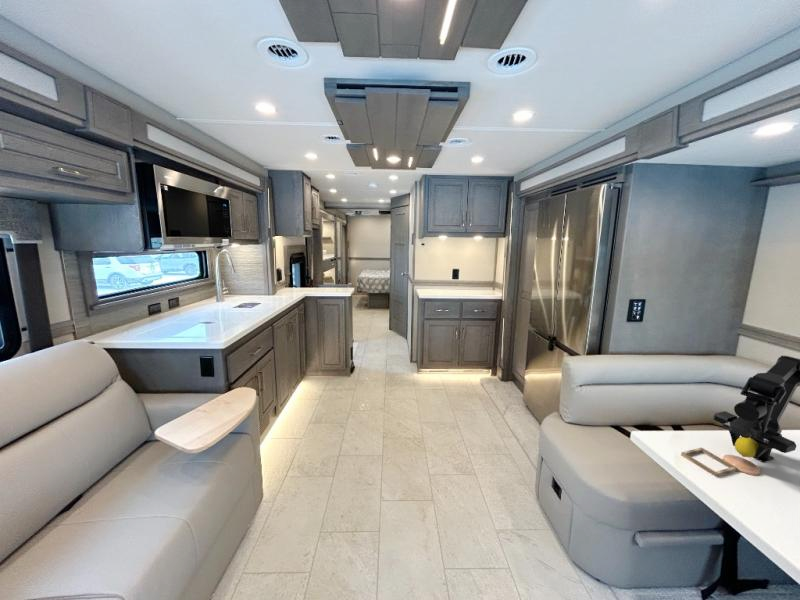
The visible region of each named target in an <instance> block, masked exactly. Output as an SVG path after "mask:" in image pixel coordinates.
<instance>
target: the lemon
mask: <svg viewBox="0 0 800 600" xmlns="http://www.w3.org/2000/svg"><path fill="white" fill-rule="evenodd" d="M734 448H735V451H736V452H737V453H738V454H739V455H740V456H741V457H742V458H754V456H755V455H756V452H757V450H758V448H759V446H758V444H757V442H756V441H755V440H753V439H752V438H751V437H749V438H744V437H741V436H740V438H738V439H737V440H736V442H735V446H734Z"/></svg>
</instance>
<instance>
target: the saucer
mask: <svg viewBox="0 0 800 600" xmlns="http://www.w3.org/2000/svg"><path fill="white" fill-rule="evenodd" d="M722 459H723V460H725V461H726V462H728V463H730V464H732V465H733V466H735V467H737V471H736V472H739V473H743V474H745V475H749V476H759V475H761V469H760V468H759V466H758V465H756V464H755V463H754V462H752V461H750V460H748V459H745V457H742V456H738V455H735V454H724V455H723V456H722Z"/></svg>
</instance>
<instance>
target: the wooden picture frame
mask: <svg viewBox="0 0 800 600" xmlns="http://www.w3.org/2000/svg"><path fill="white" fill-rule="evenodd" d="M700 453H703V454H704V455H707V456H709V457H710V458H712V459H713V460H715V461H717V462H718V463H720V464H722V465H724V466H725V467H727V468H724V469H721V470H717V471H716V470H714V469H712V468H711V467H708V466H707V465H705V464H704V463H702V462H700V461H699V460H697V459H695V458H694V457H692V456H691V455H696V454H700ZM680 456H681V457H683V458H685V459H687V460H688V461H690V462H691V463H692V464H694V465H696V466H697V467H699V468H700V469H703V470H704V471H706V472H707V473H709V474H710V473H711V474H710V475H712V476H714V477H715V478H717V477H720V476H721V477H722V476H723V475H724V476H725V475H727V474H731V473H735V472H738V471H737V467H735V466H733V465H732V464H730V463H728V462H726V461H725V460H723V458H721V457H720V456H717V455H715V454H714V453H712V452H711V451H709V450H707V449H705V448H704V447H697V448H694V449H690V450H685V451H682V452H681V454H680Z"/></svg>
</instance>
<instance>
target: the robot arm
mask: <svg viewBox="0 0 800 600" xmlns="http://www.w3.org/2000/svg"><path fill="white" fill-rule="evenodd" d="M798 387H800V358H797V357H793V356H790V355H780V356H779V357H778V358H777V360H776V362H775V364H774V365H772V366H771V368H770V369H769V370H767V371H766V372H758V373H756V374H754V375H753V376H750V377H749V378H748V380H747V381H746V383H745V385H744V386H743V388H742V390H741V391H740V395H741V396H745V397H746V398H745V399H744V400H743V401H740V402H739V403H737V404H735V405H734V407H733V411H734V413H735V414H736V415H735V414H733V413H730V412H728V411H726V410H724V411H721V412H715V413H714V414H713V417H712V419H713V421H715V422H718V423H720V424H721V425H722V426H723V427H724V428H726V430H728V432H729V435H730V438H731V441H732V446H734V447H735V442H736V440H737V439H738V438H740V437H744V438H749V437H751V438H752V439H753V440H755V441H756V442H757V444H758V446H759V448H758V450H757V452H756V455H755V456H754V457H753V459H756V460H758V461H760V462H761V463H766V462H769V461H772V460H775V457H774V456H772V455H771V452H772V450H773V449H774V450H776V451H778V452H780V453H782V454H783V453H784V454H787V453H791V452H793V451H796V448H797V444H796V442H795V441H793V440H792V439H789V438H787V437H785V436H783V434H782V432H783V430H782V427H781V425H780V420H781V418H782V416H783V414H784V412H785V411H786V408H788V405H789V404H790V401H791V400H792V397H793V395H794V393H795V391H796V390H797V388H798Z"/></svg>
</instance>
